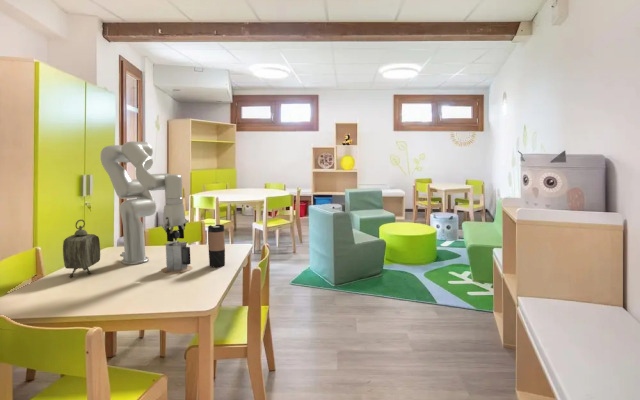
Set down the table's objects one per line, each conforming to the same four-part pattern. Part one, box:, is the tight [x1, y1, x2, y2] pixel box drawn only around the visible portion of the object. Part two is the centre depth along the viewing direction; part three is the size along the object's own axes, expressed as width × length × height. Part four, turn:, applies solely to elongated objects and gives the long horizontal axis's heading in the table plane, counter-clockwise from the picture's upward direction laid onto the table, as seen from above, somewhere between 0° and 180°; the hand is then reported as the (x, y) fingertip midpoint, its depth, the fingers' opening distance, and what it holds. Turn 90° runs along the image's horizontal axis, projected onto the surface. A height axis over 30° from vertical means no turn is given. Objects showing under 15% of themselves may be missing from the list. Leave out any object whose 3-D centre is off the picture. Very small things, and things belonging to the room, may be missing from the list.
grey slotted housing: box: [164, 240, 192, 272], centre depth 192 cm, size 12×9×13 cm
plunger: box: [172, 229, 180, 244], centre depth 192 cm, size 6×6×15 cm
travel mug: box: [207, 224, 226, 268], centre depth 198 cm, size 8×8×20 cm
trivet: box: [160, 265, 193, 275], centre depth 193 cm, size 14×14×1 cm
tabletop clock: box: [62, 219, 101, 278], centre depth 186 cm, size 14×9×25 cm, turn 1°
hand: (175, 239), depth 192 cm, fingers open, 6 cm apart
